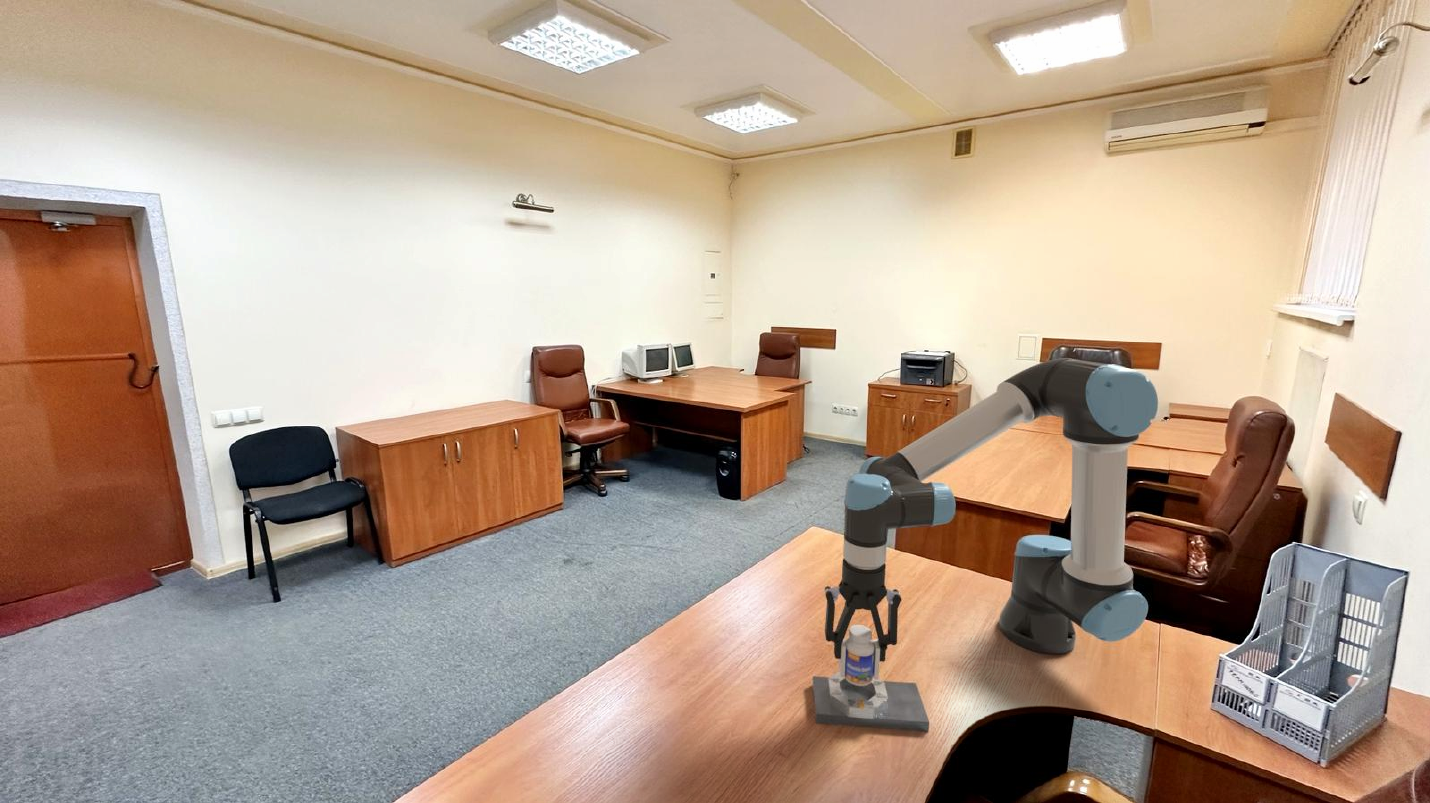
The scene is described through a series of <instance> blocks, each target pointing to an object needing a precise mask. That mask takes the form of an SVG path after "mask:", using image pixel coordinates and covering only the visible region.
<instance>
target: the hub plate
mask: <svg viewBox="0 0 1430 803" xmlns="http://www.w3.org/2000/svg"><path fill="white" fill-rule="evenodd" d="M812 693H813V705H814V716H815V724H822V725H823V724H825V725H837V726H847V727H848V726H849V727H850V726H851V727H862V728H863V727H864V728H878V729H887V730H889V729H891V730H903V731H915V732H927V733H928V732H929V729H930V720H929V717H928V714H927V712H926V709H925V705H924V703H923V699H922V696H921V694H920V692H919V688H918V685H917V683H916V682H905V681H890V680H882V679H880V678H878V680H875V679H874V676H873V679H872V681H871V683H870V684H868V685H866V686H857V685H854V684H851V683H850V682H848V681H847V680H846V679H845V678H844V677H840V671H839V670H838V671H837V672H835V673H833V674H832V675H830V676H829V677H828V676H815V675H814V676H812Z"/></svg>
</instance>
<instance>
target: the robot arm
mask: <svg viewBox="0 0 1430 803" xmlns="http://www.w3.org/2000/svg"><path fill="white" fill-rule="evenodd" d="M1158 405H1159V399H1158V392H1157V390H1156V387H1155V385H1154V384H1153V382H1152V381H1151V379H1149V377H1147V376H1146V375H1144V374H1143V373H1142V372H1140V371H1138V370H1137V369H1136V370H1135V369H1133V368H1127V367H1125V366H1123V365H1118V364H1111V363H1102V362H1095V361H1088V360H1081V359H1077V358H1070V357H1062V358H1053V359H1050V360H1046V361H1043V362H1040V363H1038V364H1035V365H1032V366H1030V367H1028V368H1026V369H1023V370H1022V371H1019V372H1017V373H1016V374H1014V375H1012V376H1011V377H1009V378H1007V379H1005V380H1004V381H1002V382H1000V383H999V384H998V385H997V387H996V391H995V392H994V393H992V394H991V395H989V396H988V397H985V398H984V399H983V400H980V401H979V402H977V403H976V404H974V405H973V406H971V407H969V408H967V409H966V410H965V411H962V412H960V413H959V414H958V415H955V416H954V417H952V418H951V419H949V420H948V421H946V422H944V423H943V424H940V425H939V426H938V427H936V428H935V429H933V430H931V431H929V432H928V433H927V434H925V435H923V436H921V437H919V438H918V439H916V440H915V441H913V442H912V443H910V444H908V445H906V446H905V447H903V448H902V449H900V450H898V451H896V452H895V453H893V454H891V455H890V456H888V457H882V456H872V457H870V458H867V459H866V460H864V461H863V463H862V464H861V466H860V468H859V471H858V474H855V475H852V476H851V477H850V478H848V480H847V482H846V488H845V494H844V495H845V496H844V500H843V503H844V523H843V524H844V532H843V544H842V545H843V547H842V550H843V551H842V557H843V558H842V567H841V580H840V582H839V584H838V586H835V587H831V586H829V585H828V586H824V593H825V599H826V609H825V620H824V621H825V623H824V634H825V635H824V636H825V640H826V641H827V642H832V643H833V646H834V647H833V654H834V659H836V660H839V661H838V671H840V677H844V678H845V658H846V644H845V641H846V639H845V636H846V634H847V632H848V629H849V626H850V623H851V621H852V617H853V616H854V615H855V612H856V611H857V610H865V611H870V613H871V617H872V621H873V625H874V629H875V632H876V633H875V634H876V637H877V638H873V639H872V641H873V643H874V645H875V652H874V668H873V676H874V679H875V680H878V679H880V678H879V675H880V662H885V660H886V651H887V650H888V646H889V645H891V646H896V645H897V644H898V623H899V622H898V618H899V617H898V612H899V607H900V604H901V603H902V597H901V595H900V592H899V591H900V590H898V589H896V588H895V589H892V590H891V589H888V588H887V587H886V585H885V582H886V581H885V580H886V569H887V568H886V566H887V565H886V562H887V549H888V537H889V536H888V534H889V530H895V529H896V530H898V529H906V528H921V527H934V526H938V525H946V524H948V523H950V522H951V521H952V520H953V519H954V516H955V515H956V506H957V505H956V499H955V495H954V493H953V490H952V489H951V488H950V487H949V486H948V485H947V484H946V483H943V482H933V481H929V482H923V481H926V480H927V479H929V478H930V477H932V476H933V475H935V474H937V473H939V472H940V471H942V470H944V469H945V468H947V467H948V466H950V465H951V464H953V463H955V462H956V461H958V460H960V459H962V458H963V457H964V456H966V455H968V454H970V453H971V452H974V451H975V450H977V449H978V448H980V447H981V446H984V445H985V444H987V443H988V442H990V441H991V440H993V439H995V438H997V437H998V436H999V435H1002V434H1003V433H1005V432H1007V431H1008V430H1009V429H1011V428H1013V427H1015V426H1016V425H1018V424H1020V423H1023V424H1030V423H1031V422H1033V421H1035V420H1036V419H1039V418H1041V417H1046V416H1054V417H1057V418H1061V419H1062V436H1063V437H1064V439H1065V440H1066V441H1068V442H1070V443H1071V499H1070V500H1071V502H1070V503H1071V504H1070V506H1071V508H1070V509H1071V510H1070V511H1071V512H1070V514H1071V515H1070V516H1071V518H1070V520H1071V521H1070V539H1066V538H1063V537H1060V536H1054V535H1047V534H1029V535H1026V536H1022V537H1020V538H1019V539H1018V541H1017V543H1016V546H1015V547H1016V548H1015V552H1014V558H1013V559H1014V560H1013V567H1012V568H1013V570H1012V578H1011V579H1012V580H1011V591H1010V596H1009V597H1008V600H1007V601H1006V603H1005V604H1004V607H1003V608H1002V610H1001V612H1000V614H999V619H998V620H999V621H998V626H999V629H1000V631H1001V632H1002V634H1003V635H1004V636H1005V637H1006V638H1008V639H1009V640H1011V642H1014V643H1015V645H1019V646H1021V647H1022V648H1025V649H1028V650H1030V651H1032V652H1033V651H1034V652H1037V653H1041V654H1048V655H1049V654H1050V655H1061V654H1066V653H1069V652H1071V651H1072V650H1073V649H1074V647H1075V645H1076V639H1077V638H1076V637H1077V634H1076V630H1075V626H1074V624H1075V625H1076V626H1078V627H1079V628H1080V629H1082V630H1083V631H1084V632H1085V633H1087V634H1090V635H1091V636H1094V637H1095V638H1096V639H1098V640H1101V641H1103V642H1106V643H1107V642H1108V643H1109V642H1110V643H1111V642H1113V643H1114V642H1118V641H1122V640H1124V639H1126V638H1128V637H1130V636H1131V635H1133V634H1134V633H1136V631H1137V630H1139V629H1140V627H1141V626H1142V625H1143V623H1144V622H1145V619H1147V618H1146V617H1147V614H1148V613H1149V612H1148V611H1149V604H1148V601H1147V599H1146V598H1145V596H1143V595H1142V593H1140V591H1136V590H1135V589H1134V586H1133V584H1134V572H1133V570H1132V568H1131V566H1129V564H1127V563H1126V562H1125V561H1124V560H1125V538H1126V537H1125V535H1126V534H1125V533H1126V532H1125V531H1126V513H1127V512H1126V508H1127V505H1126V504H1127V480H1128V476H1127V475H1128V457H1129V456H1128V453H1129V447H1130V446H1132V445H1133V444H1135V443H1136V442H1138V441H1139V437H1140V434H1142V433H1143V432H1145V431H1146V430H1148V428H1149V427H1150V426H1151V425H1152V422H1151V420H1154V419H1155V418H1156V416H1157V412H1158V408H1159V407H1158ZM839 595H841V596H842V597H843V599H844V600H845V601H844V607H843V609H842V612H841V614H840V618H839V620H838V623H837V626H836V629H835V630H834V626H835V625H834V624H835V623H834V622H835V614H836V613H835V611H836V603H835V602H836V601H837V600H838V598H839ZM885 597H886V602H887V604H888V605H887V606H888V607H887V633H886V634H885V633H884V629H883V626H882V622H881V618H880V614H879V610H878V605H879V604H880V603H881V601H883V599H885Z"/></svg>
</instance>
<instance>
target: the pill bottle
mask: <svg viewBox="0 0 1430 803" xmlns="http://www.w3.org/2000/svg"><path fill="white" fill-rule="evenodd" d="M848 631H849V633H848V636H847V638H846V639H845V644H846V658H845V679H846V680H847V681H848V682H850V683H851V684H854V685H857V686H866V685H868V684H870V683H871V681H872V679H873V668H874V652H875V645H874V643H873V639H872V638H873V637H872V635H873V634H872V630H871V629H870V628H869V627H867V626H865V625H862V624H854V625H851V627H850V628H849V630H848Z"/></svg>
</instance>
